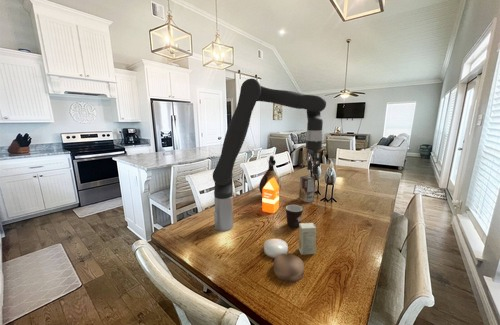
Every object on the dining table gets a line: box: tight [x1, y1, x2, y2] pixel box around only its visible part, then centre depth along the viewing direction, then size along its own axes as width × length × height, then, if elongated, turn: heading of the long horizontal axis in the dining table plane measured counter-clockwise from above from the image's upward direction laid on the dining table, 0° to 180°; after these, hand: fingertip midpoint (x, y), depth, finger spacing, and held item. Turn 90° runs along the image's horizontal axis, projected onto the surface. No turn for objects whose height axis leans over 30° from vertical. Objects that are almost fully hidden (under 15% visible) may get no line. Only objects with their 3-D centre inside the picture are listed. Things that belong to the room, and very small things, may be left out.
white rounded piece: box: [263, 238, 289, 259], centre depth 88 cm, size 10×10×2 cm
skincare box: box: [298, 222, 317, 255], centre depth 87 cm, size 6×4×12 cm
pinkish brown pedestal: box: [273, 253, 305, 283], centre depth 77 cm, size 11×11×3 cm
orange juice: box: [261, 177, 280, 214], centre depth 127 cm, size 8×9×20 cm
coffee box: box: [298, 175, 316, 203], centre depth 142 cm, size 9×6×16 cm
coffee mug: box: [285, 204, 304, 230], centre depth 108 cm, size 12×9×10 cm
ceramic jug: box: [258, 155, 282, 195], centre depth 146 cm, size 17×15×30 cm
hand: (312, 171), depth 104 cm, fingers open, 8 cm apart
